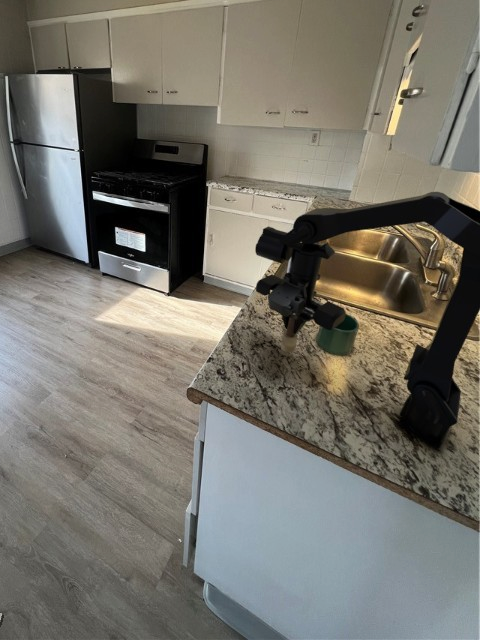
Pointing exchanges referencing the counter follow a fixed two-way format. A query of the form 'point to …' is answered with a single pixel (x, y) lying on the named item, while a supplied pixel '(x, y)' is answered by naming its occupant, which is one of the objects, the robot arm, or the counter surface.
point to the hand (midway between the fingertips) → (291, 330)
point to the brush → (289, 335)
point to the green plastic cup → (339, 336)
